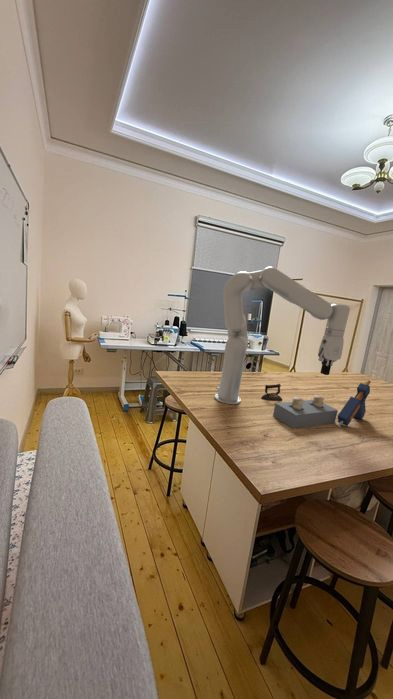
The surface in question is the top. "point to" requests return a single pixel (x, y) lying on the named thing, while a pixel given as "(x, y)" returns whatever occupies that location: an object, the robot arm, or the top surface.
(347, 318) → the robot arm
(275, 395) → the clothes iron
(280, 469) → the top surface
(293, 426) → the block
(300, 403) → the dowel
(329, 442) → the top surface
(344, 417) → the glue gun
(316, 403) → the dowel
